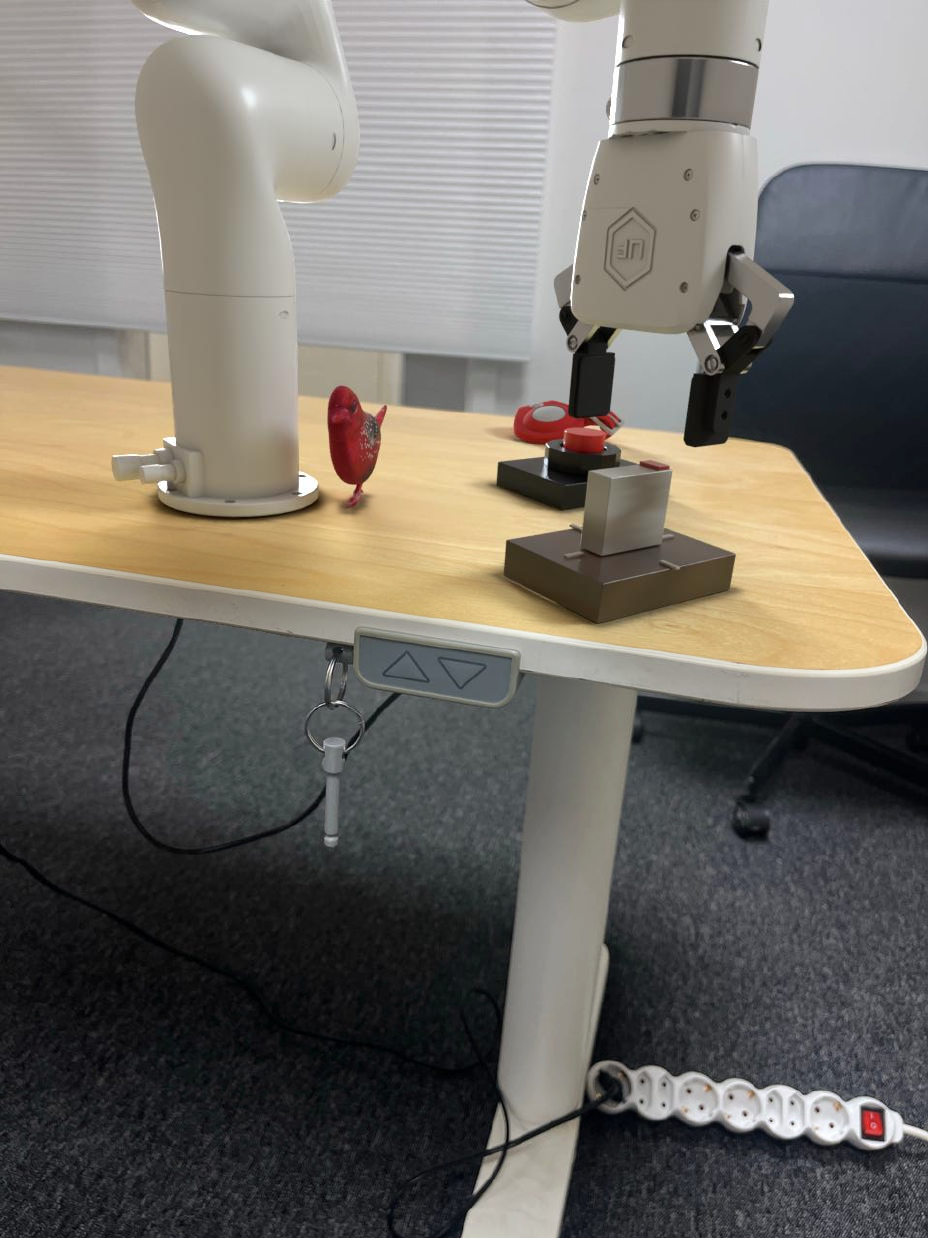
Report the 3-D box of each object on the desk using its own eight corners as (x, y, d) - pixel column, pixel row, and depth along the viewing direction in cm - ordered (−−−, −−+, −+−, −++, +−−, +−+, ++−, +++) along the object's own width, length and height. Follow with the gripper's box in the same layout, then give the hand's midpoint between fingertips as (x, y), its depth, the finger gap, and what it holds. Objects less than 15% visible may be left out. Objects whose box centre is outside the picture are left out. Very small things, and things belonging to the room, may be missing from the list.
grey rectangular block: (601, 556, 55) (611, 474, 53) (579, 547, 57) (588, 466, 55) (662, 544, 58) (673, 465, 56) (639, 535, 60) (650, 458, 58)
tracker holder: (526, 436, 96) (498, 398, 103) (529, 472, 98) (501, 432, 106) (631, 411, 97) (595, 376, 105) (630, 447, 100) (595, 410, 108)
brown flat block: (601, 626, 52) (607, 583, 51) (499, 574, 59) (502, 535, 58) (734, 591, 58) (741, 552, 57) (628, 548, 65) (633, 513, 64)
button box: (561, 511, 74) (566, 463, 72) (495, 485, 80) (498, 441, 79) (661, 495, 80) (667, 451, 79) (592, 472, 87) (597, 431, 85)
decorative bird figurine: (314, 525, 66) (312, 388, 62) (369, 471, 82) (371, 360, 78) (351, 529, 66) (352, 391, 62) (400, 474, 82) (403, 362, 78)
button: (581, 457, 77) (583, 436, 76) (554, 448, 79) (556, 428, 79) (611, 453, 79) (614, 433, 78) (584, 445, 81) (586, 426, 81)
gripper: (525, 115, 52) (507, 410, 59) (772, 82, 39) (714, 464, 46) (616, 130, 56) (590, 404, 63) (867, 104, 44) (802, 451, 50)
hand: (643, 429), depth 54 cm, fingers open, 9 cm apart
